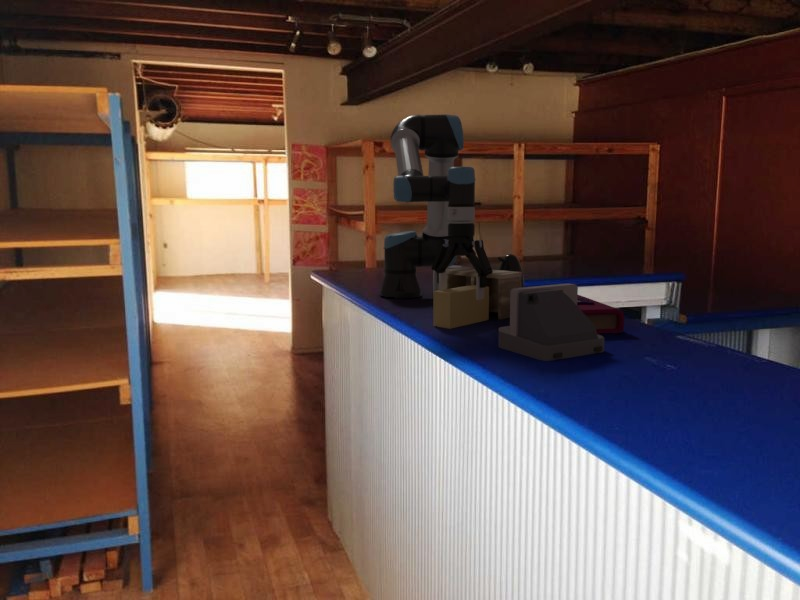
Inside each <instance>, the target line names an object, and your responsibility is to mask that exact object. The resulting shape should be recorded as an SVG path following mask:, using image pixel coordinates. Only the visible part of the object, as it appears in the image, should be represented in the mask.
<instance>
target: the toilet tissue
mask: <svg viewBox="0 0 800 600" xmlns="http://www.w3.org/2000/svg"><path fill="white" fill-rule="evenodd" d="M464 267H467V268H470V267H469V266H466V265H465V266H464V265H455V264H453V265H452V266H448V267H447V268H446V270H449V269H457V268H464ZM432 271H433V272H432V274H433V275H432V277H433V278H432V292H433V291H438V290H439V284H438V283H437V272H436V271H434V270H432ZM443 273H445V272H443Z"/></svg>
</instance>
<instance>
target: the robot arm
mask: <svg viewBox="0 0 800 600" xmlns="http://www.w3.org/2000/svg"><path fill="white" fill-rule="evenodd" d="M464 144H465V143H464V129H463V124H462V121H461V119H460V117H459V116H458V115H455V114H411V115H409V116H408V117H407V116H406V117H405V118H404V119H402V120H400V121H399V122H398V123H397V124H396V125H395V127H394V128H393V129H392V131H391V134H390V147H391V149H392V150H393V152H394V155H395V161H396V162H395V163H396V169H397V176H395V177H394V178H393V184H392V186H393V191H392V193H393V199H394V200H395V202H399V203H400V202H401V203H419V202H420V203H421V202H423V203H424V202H425V203H426V202H427V208H426V209H427V210H426V211H427V212H426V214H427V215H426V226H425V227H424V228H423V229H422V234H417V231H415V230H410V231H409V230H407V231H402V232H395V233H390V234H387V235H386V236H385V238H384V239H383V240H384V244H383V250H384V258H383V259H384V266H383V267H384V276H383V279H382V283H381V287H380V289H379V296H380V295H382V296H386V297H396V298H395V299H413V298H414V299H415V298H418V297H421V296H422V289H421V287H420V283H419V279H418V277H417V268H427V267H429V268H430V267H431V270H432V271H433V270H434V271H436V272H437V283H438V284H439V290H445V289H447V273H443V272H446V271H445V270H446V268H447V267H448V266H452V265H455V263H456V261H457V258H458V256H462V257H466V258H467V259H468V260H469V262H470V263H471V265H472V266H473V267H472V268H475V270H476V271H477V273H478V276H476V300H480V299H484V287H486V276H487V275H488V274H492V273H493V271H492V270H493V268H492V266H491V263H490V260H489V258H488V256H487V253H486V250H485V248H484V240H483V239H480V240H479V239H478V240H477V239H476V240H474V236H475V234H476V233H475V232H476V231H475V225H476V224H474V222H475V221H476V215H475V213H476V209H475V208H476V207H475V202H476V201H475V199H476V198H475V196H476V195H475V194H476V192H475V191H476V190H475V189H476V174H475V168H474V167H472V166H454V160H456V159H457V158H459V152H460V151H462V150H463V149H464ZM420 151H424V156H425V157H426V159H428V175H424V171H423V165H422V161H421V157H420V156H421V155H420Z"/></svg>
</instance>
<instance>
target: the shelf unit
mask: <svg viewBox="0 0 800 600" xmlns="http://www.w3.org/2000/svg"><path fill="white" fill-rule="evenodd" d="M467 267H468V266H465V267H464V268H457V269H449V270H445V271H446V272H445V273H447V289H451V288H457V287H463V286H469V285H476V276H478V273H477V271H476V270H475V268H474V267H469V268H467ZM492 271H493V273H492V274H488V275H487V276H486V286H487V287H489V313H497V320H506V319H510V292H511V290H512V289H513V288H521V279H522V272H523V271H522V272H515V271H503V270H498V269H492Z"/></svg>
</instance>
